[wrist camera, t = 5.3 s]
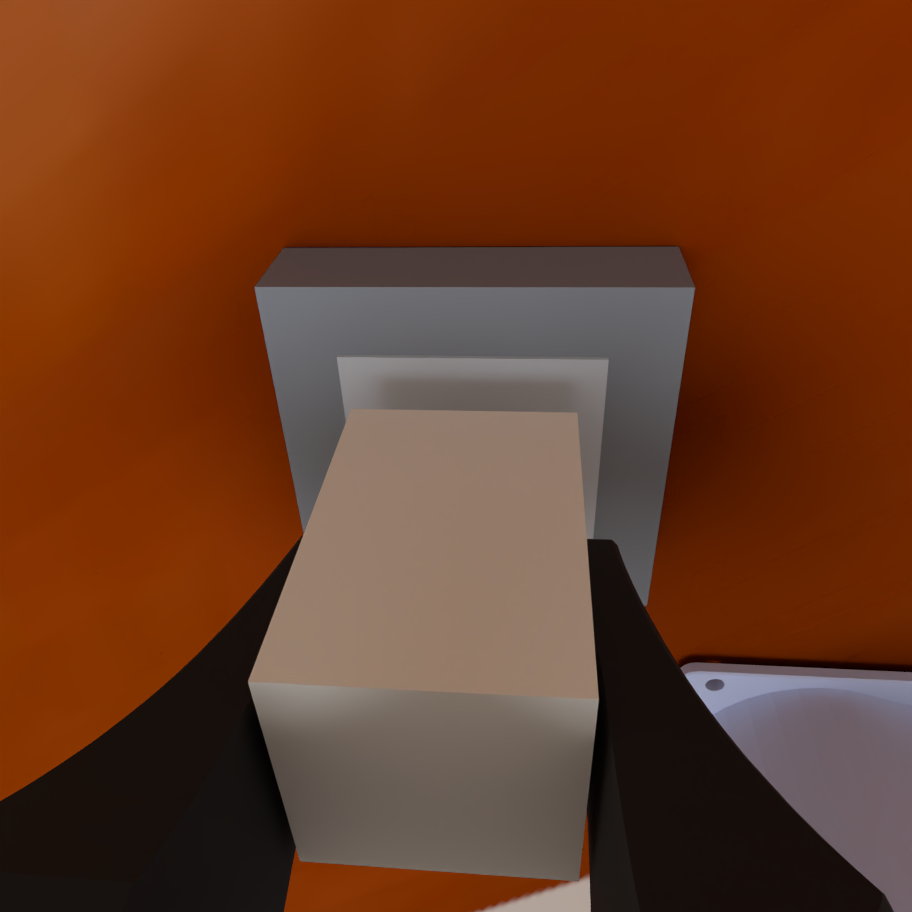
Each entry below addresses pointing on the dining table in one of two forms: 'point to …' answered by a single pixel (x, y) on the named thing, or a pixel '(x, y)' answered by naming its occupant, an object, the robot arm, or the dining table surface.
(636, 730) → the robot arm
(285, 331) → the gray base
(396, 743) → the cream block
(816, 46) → the dining table surface
